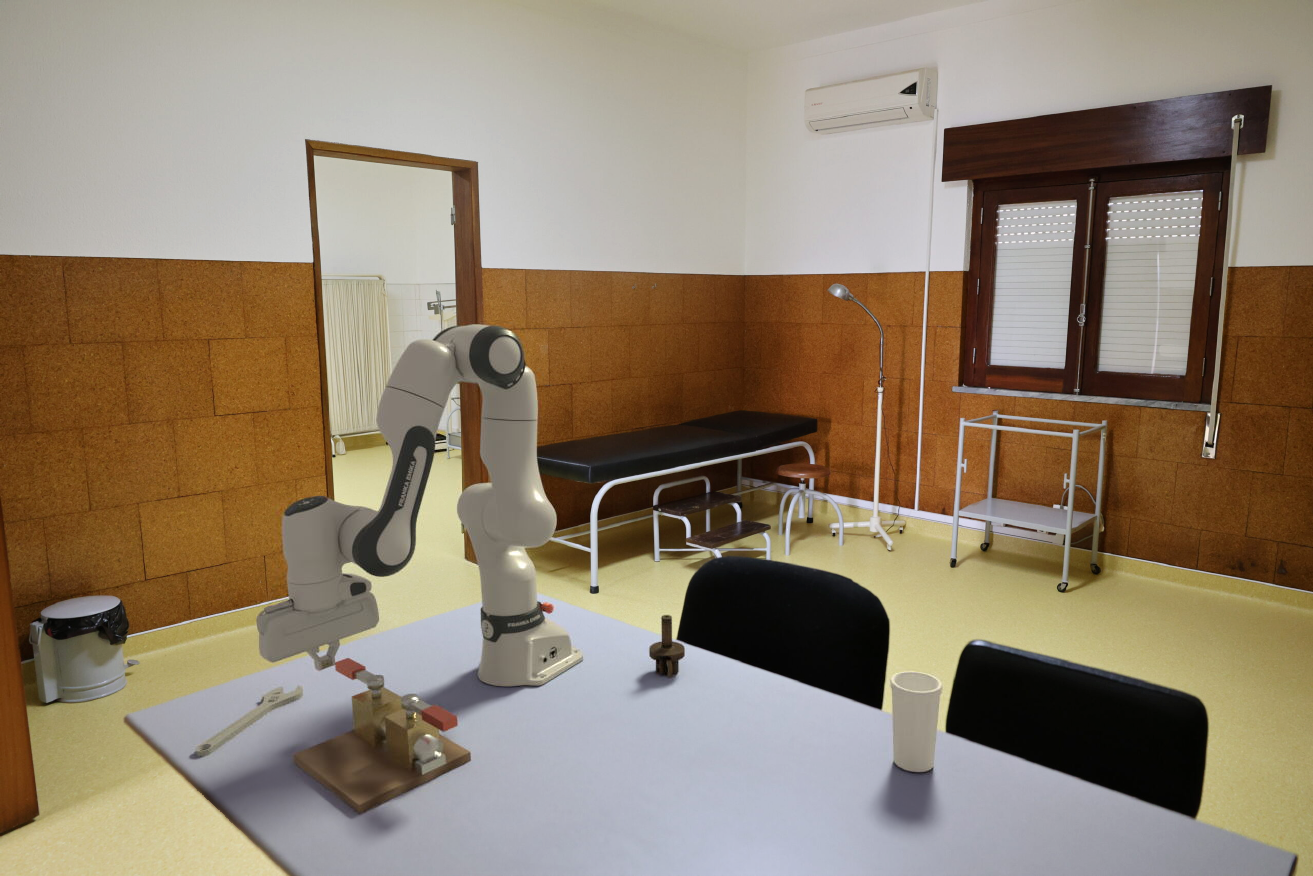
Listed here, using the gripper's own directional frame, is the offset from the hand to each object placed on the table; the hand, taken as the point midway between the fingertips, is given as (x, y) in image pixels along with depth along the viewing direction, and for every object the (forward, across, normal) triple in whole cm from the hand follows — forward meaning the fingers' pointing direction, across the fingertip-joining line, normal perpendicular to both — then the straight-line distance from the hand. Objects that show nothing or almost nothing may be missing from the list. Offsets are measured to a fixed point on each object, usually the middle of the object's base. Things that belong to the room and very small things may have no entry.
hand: (325, 667), depth 149 cm
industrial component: (+15, +59, -27) cm, 67 cm away
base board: (+13, +2, -14) cm, 19 cm away
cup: (+15, +59, -81) cm, 101 cm away
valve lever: (+3, +5, -3) cm, 6 cm away
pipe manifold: (+12, +5, -17) cm, 21 cm away
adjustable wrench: (+14, -7, +18) cm, 24 cm away
